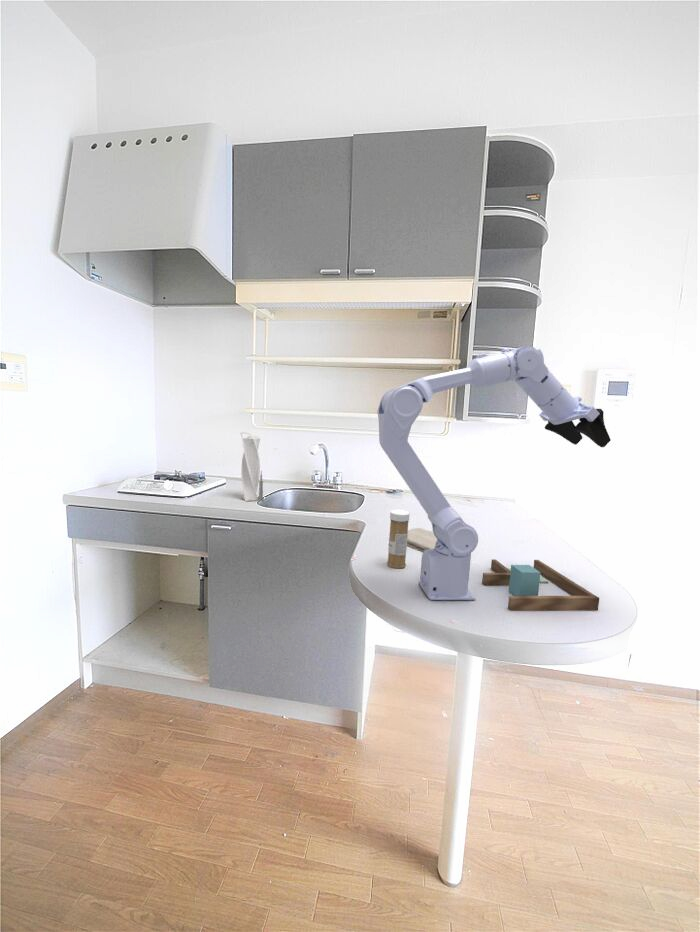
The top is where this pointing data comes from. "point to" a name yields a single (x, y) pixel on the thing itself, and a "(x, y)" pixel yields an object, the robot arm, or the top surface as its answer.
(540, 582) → the pad
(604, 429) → the robot arm
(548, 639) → the top surface
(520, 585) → the teal block
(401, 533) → the sprinkles bottle
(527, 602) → the channel
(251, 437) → the skyscraper
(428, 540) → the washcloth
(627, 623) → the top surface
